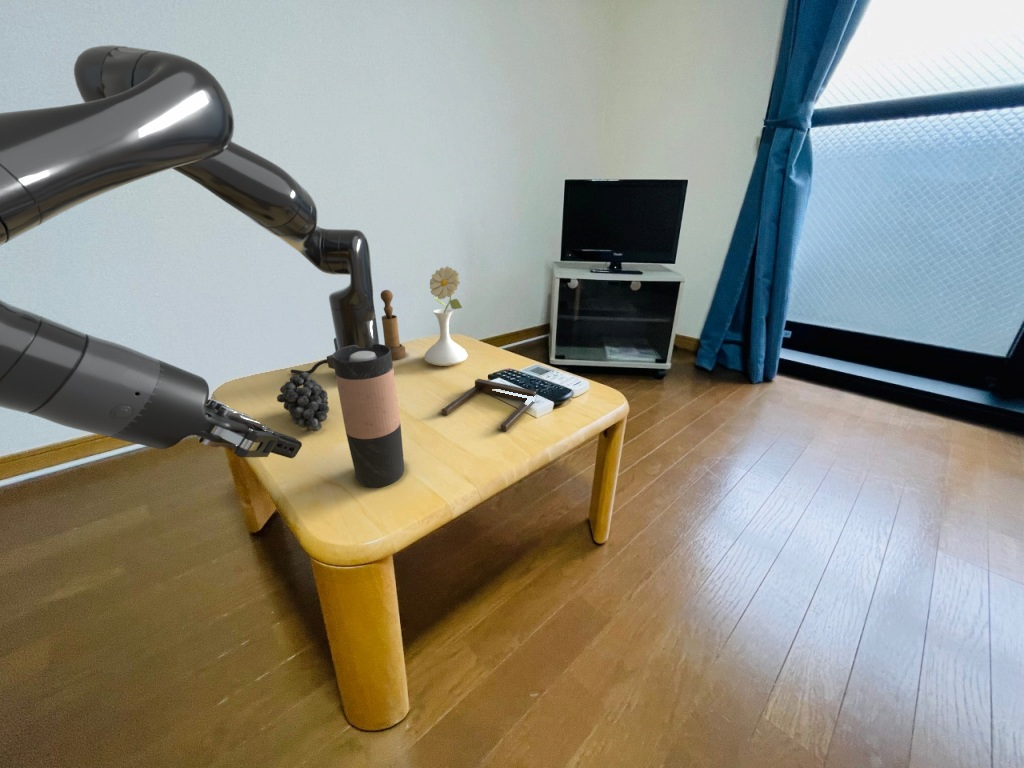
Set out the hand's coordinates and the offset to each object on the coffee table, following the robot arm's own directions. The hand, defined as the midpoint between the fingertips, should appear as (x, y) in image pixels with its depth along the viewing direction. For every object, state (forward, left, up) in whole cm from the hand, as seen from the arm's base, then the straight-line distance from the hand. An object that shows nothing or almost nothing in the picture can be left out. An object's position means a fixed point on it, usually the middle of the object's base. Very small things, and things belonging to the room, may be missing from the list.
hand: (295, 448), depth 49 cm
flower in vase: (-16, +55, -11) cm, 58 cm away
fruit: (-22, +17, -11) cm, 29 cm away
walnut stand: (+6, +37, -10) cm, 39 cm away
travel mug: (+2, +11, -11) cm, 15 cm away
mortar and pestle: (-32, +52, -11) cm, 62 cm away
